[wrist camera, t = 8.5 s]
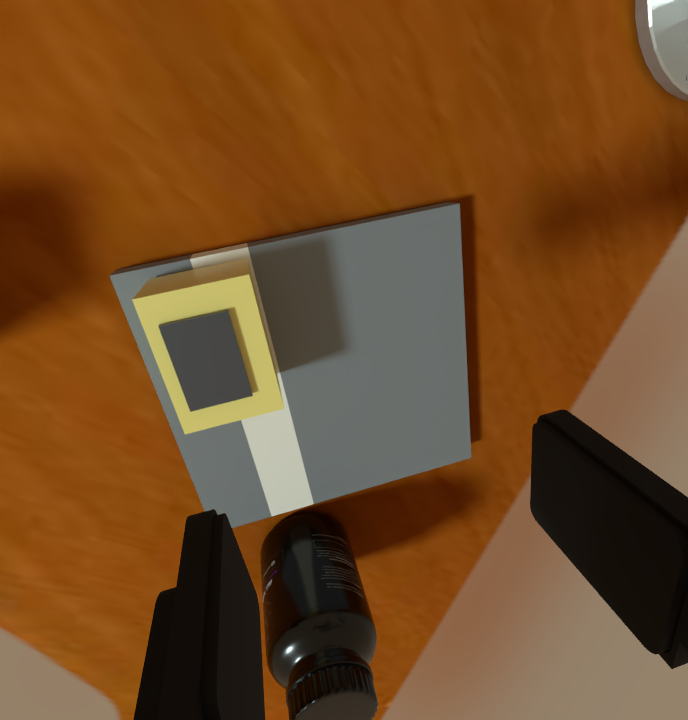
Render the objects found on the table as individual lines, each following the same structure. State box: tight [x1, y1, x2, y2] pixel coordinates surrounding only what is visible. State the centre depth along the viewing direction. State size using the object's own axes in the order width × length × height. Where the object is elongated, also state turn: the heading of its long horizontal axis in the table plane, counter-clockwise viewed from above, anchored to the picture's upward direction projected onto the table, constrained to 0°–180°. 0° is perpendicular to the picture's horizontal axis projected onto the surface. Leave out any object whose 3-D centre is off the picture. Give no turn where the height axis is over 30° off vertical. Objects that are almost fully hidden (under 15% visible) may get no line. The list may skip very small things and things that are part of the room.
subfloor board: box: [110, 202, 471, 528], centre depth 27 cm, size 19×18×2 cm
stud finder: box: [132, 258, 284, 434], centre depth 22 cm, size 5×7×4 cm
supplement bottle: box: [261, 513, 378, 720], centre depth 28 cm, size 7×7×12 cm
